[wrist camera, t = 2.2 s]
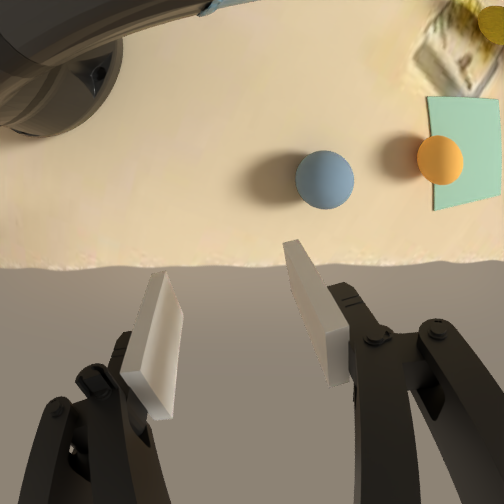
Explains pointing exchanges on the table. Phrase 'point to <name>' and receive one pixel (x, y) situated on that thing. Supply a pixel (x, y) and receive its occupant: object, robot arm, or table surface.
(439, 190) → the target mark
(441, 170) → the orange ball
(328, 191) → the blue ball
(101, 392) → the robot arm
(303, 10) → the table surface
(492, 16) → the lemon
